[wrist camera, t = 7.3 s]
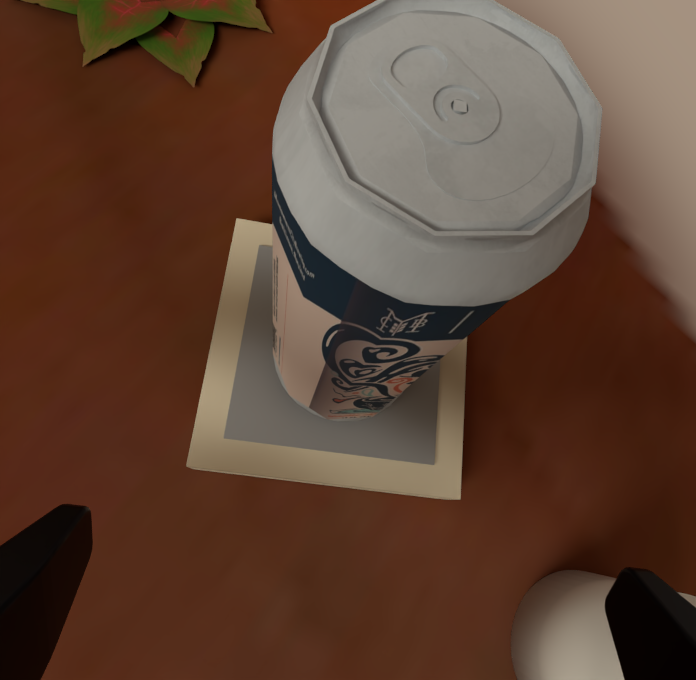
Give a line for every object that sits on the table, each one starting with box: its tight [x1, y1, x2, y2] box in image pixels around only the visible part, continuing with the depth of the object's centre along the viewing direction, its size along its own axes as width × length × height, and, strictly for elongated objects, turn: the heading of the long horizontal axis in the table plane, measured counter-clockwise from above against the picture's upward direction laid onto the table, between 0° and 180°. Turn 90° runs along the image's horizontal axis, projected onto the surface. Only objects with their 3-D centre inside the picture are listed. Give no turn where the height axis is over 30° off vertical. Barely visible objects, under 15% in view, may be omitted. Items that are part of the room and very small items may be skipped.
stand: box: [186, 219, 467, 500], centre depth 19 cm, size 9×9×2 cm
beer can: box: [272, 0, 602, 422], centre depth 12 cm, size 5×5×12 cm
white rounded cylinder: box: [511, 570, 696, 680], centre depth 15 cm, size 5×5×5 cm
